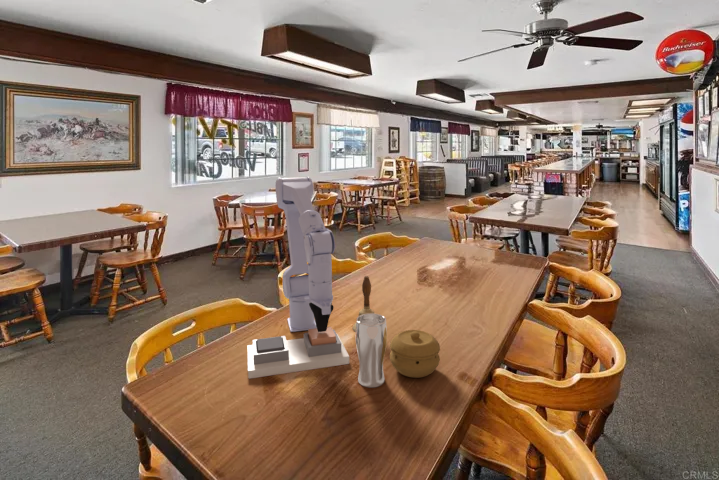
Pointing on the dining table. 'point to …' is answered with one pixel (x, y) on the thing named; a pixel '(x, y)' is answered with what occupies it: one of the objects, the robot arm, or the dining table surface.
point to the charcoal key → (269, 344)
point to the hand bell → (365, 298)
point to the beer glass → (371, 348)
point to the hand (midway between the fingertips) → (321, 330)
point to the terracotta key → (321, 336)
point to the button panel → (295, 357)
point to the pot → (414, 353)
